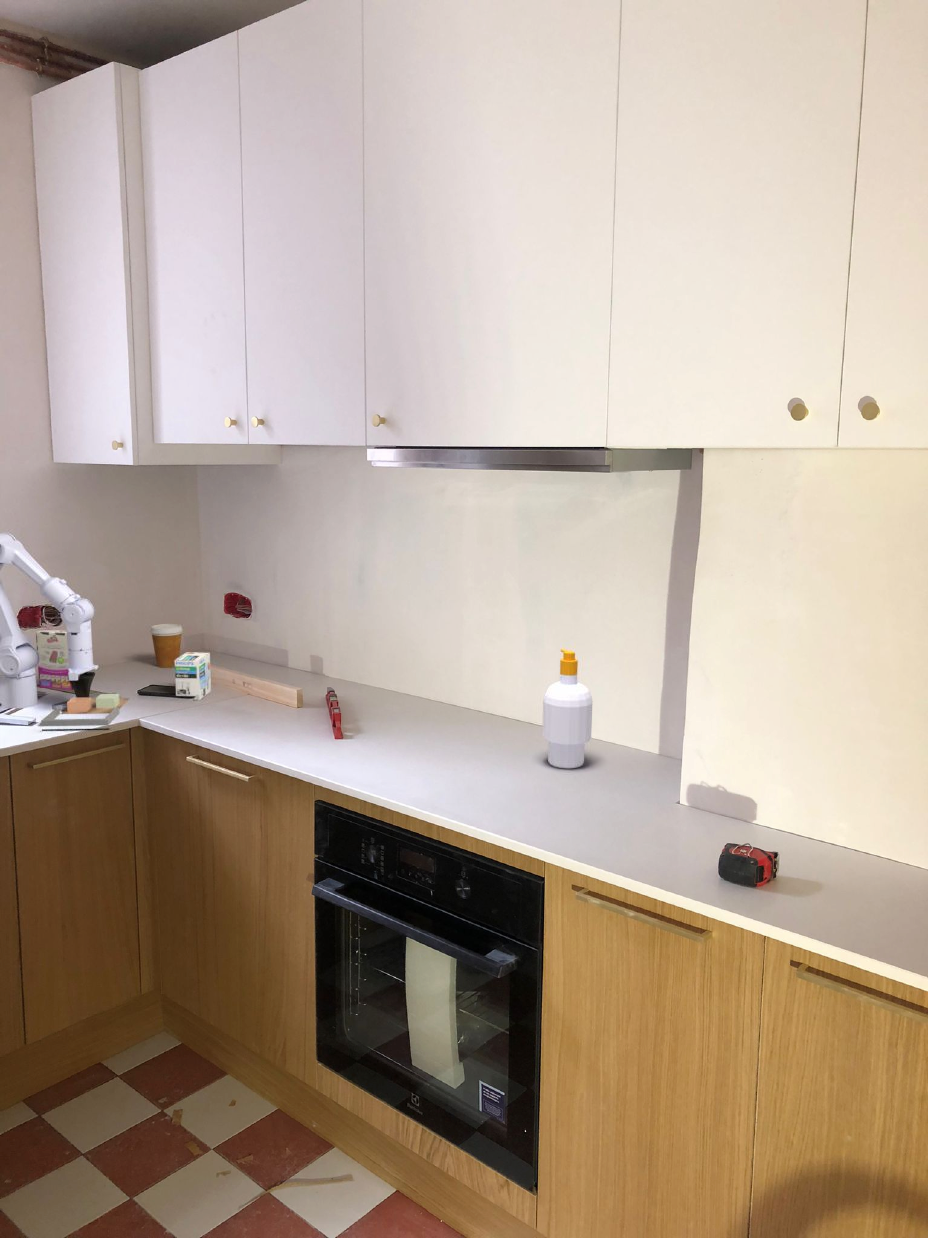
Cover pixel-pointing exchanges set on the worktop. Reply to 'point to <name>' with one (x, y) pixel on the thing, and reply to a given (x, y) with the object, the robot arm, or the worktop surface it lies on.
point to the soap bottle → (567, 716)
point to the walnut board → (98, 710)
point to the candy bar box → (53, 659)
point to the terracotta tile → (79, 704)
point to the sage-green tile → (107, 701)
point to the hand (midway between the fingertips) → (83, 702)
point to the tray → (76, 721)
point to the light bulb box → (193, 675)
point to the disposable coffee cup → (166, 643)
